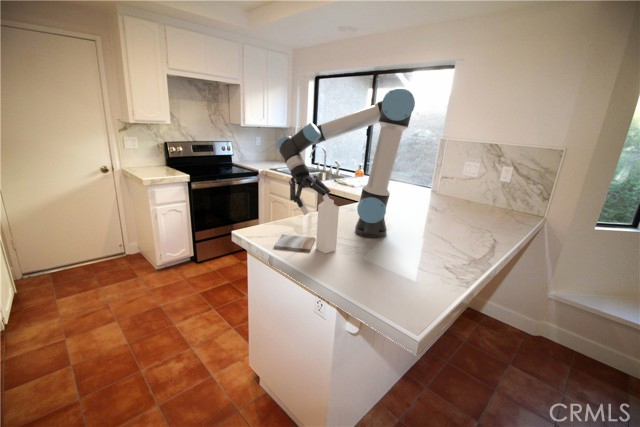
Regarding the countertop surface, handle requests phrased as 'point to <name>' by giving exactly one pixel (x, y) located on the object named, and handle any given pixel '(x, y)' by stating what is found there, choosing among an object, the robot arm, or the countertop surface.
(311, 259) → the countertop surface
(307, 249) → the board
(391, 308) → the countertop surface
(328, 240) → the milk
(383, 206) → the robot arm
